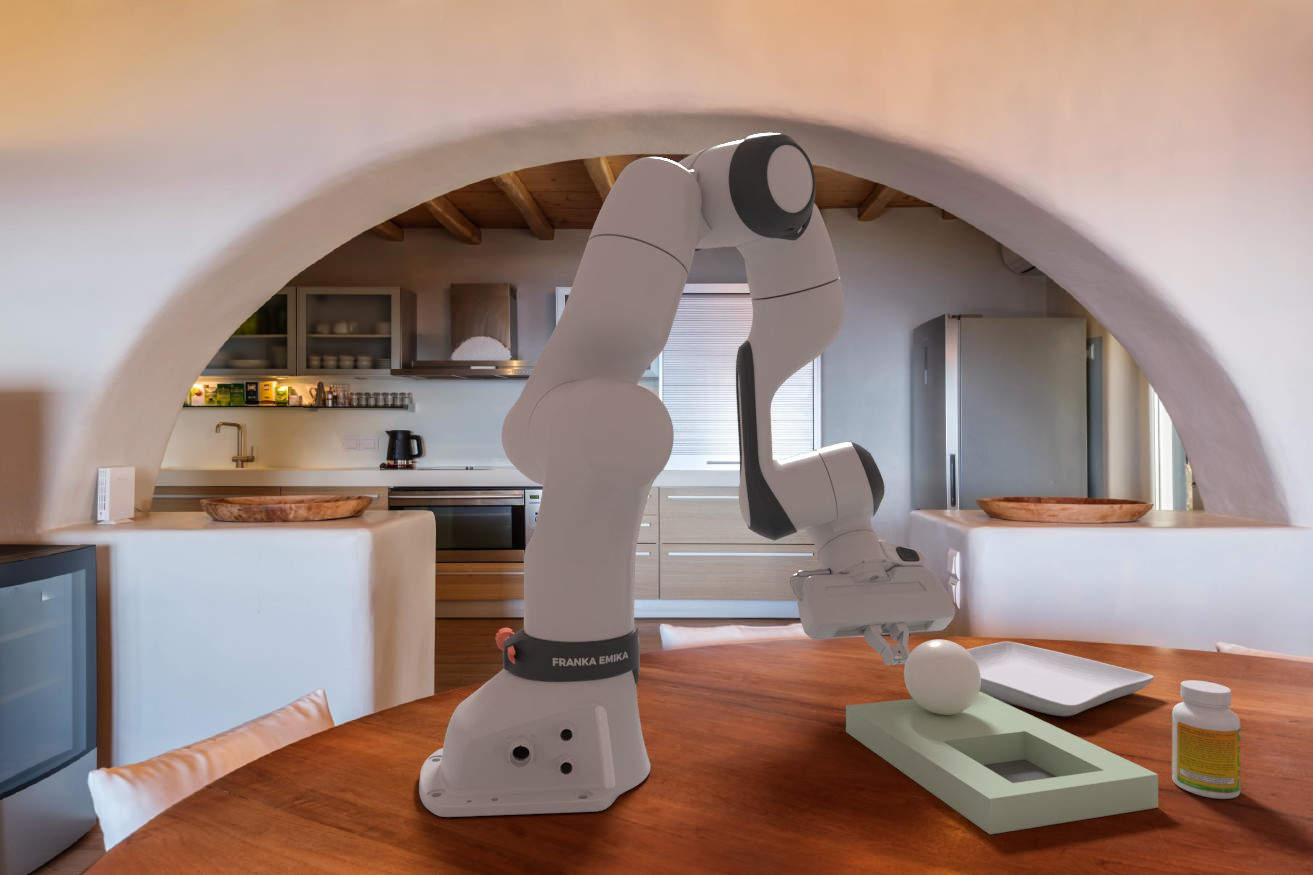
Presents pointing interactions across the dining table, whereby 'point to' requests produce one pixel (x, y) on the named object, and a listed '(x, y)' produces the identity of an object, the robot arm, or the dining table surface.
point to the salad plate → (1051, 678)
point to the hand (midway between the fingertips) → (899, 662)
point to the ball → (942, 677)
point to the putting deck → (1002, 764)
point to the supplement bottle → (1206, 741)
